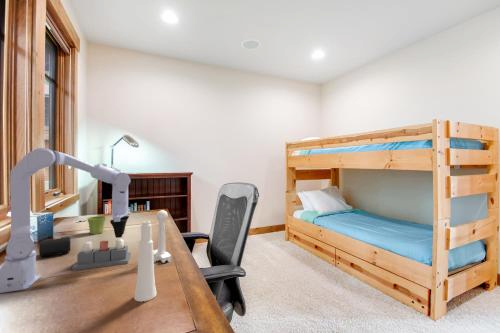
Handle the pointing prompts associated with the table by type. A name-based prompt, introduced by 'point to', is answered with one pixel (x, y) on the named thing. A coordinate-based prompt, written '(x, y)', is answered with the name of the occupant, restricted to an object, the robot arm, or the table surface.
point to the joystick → (161, 239)
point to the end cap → (54, 246)
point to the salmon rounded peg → (104, 245)
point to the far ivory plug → (119, 244)
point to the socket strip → (102, 258)
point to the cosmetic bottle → (145, 266)
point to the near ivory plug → (87, 247)
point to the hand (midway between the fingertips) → (119, 235)
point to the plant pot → (96, 224)
